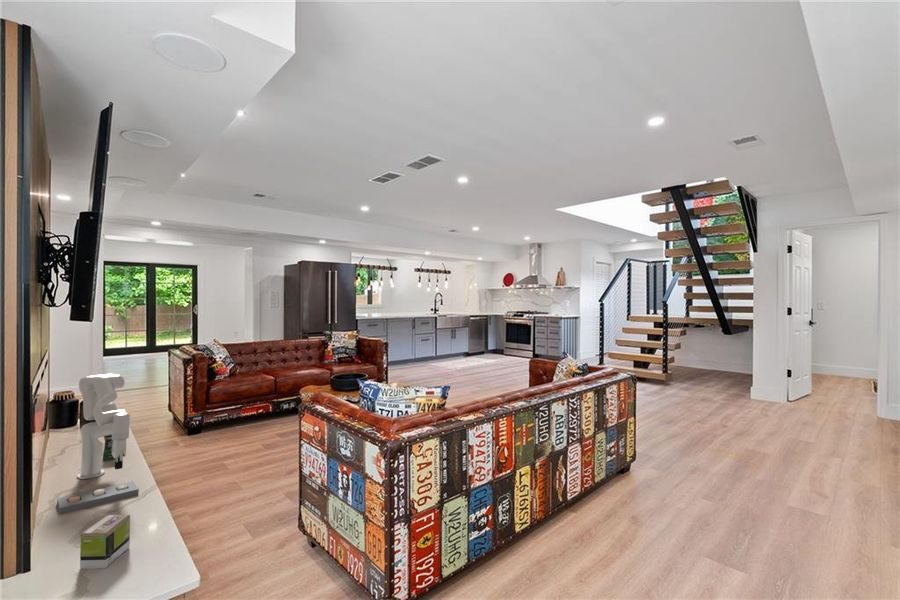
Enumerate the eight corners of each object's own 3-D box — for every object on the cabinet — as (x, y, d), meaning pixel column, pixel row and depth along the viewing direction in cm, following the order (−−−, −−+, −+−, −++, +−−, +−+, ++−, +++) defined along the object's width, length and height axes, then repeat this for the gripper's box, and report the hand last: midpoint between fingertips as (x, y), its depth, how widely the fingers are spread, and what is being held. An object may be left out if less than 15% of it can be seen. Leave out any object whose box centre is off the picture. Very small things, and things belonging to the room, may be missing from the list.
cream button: (92, 496, 228) (93, 490, 228) (103, 493, 231) (103, 488, 231) (94, 499, 225) (94, 493, 225) (104, 496, 228) (105, 490, 228)
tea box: (105, 548, 185) (107, 513, 185) (130, 547, 186) (131, 513, 186) (78, 569, 170) (80, 532, 170) (105, 569, 171) (106, 532, 171)
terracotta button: (67, 503, 220) (68, 498, 220) (79, 501, 224) (79, 495, 224) (69, 506, 217) (69, 500, 217) (80, 504, 221) (80, 498, 221)
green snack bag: (102, 461, 278) (103, 432, 278) (103, 457, 285) (104, 429, 285) (120, 458, 284) (122, 430, 284) (121, 455, 290) (122, 427, 290)
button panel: (56, 504, 221) (57, 498, 221) (132, 486, 244) (132, 481, 244) (59, 514, 211) (60, 507, 211) (138, 494, 235) (138, 489, 235)
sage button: (116, 492, 235) (116, 486, 235) (126, 489, 238) (126, 484, 238) (118, 494, 232) (118, 489, 232) (127, 492, 235) (128, 487, 235)
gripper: (109, 433, 238) (107, 465, 239) (114, 440, 228) (112, 474, 229) (125, 430, 244) (123, 462, 244) (131, 437, 234) (129, 471, 234)
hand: (118, 468), depth 236 cm, fingers closed
